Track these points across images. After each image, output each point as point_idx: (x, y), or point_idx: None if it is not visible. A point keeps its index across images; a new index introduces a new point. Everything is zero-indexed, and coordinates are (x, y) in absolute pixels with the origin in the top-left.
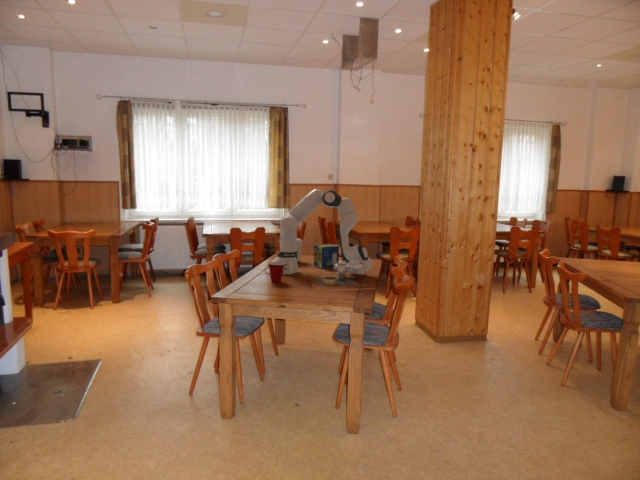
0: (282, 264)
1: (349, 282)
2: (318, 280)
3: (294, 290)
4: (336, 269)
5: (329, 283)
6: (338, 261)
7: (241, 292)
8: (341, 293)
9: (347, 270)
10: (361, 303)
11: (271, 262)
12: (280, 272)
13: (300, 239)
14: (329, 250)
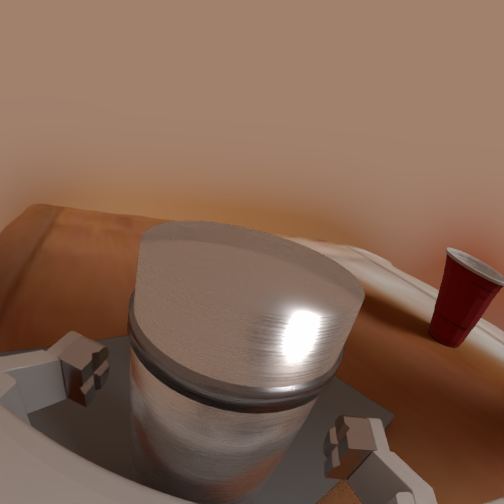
0: (450, 254)
1: (66, 422)
2: (355, 399)
3: None
4: (332, 450)
5: None
6: (296, 243)
7: (366, 263)
8: (101, 264)
9: (82, 337)
10: (39, 214)
11: (499, 275)
12: (442, 291)
13: None
14: None
